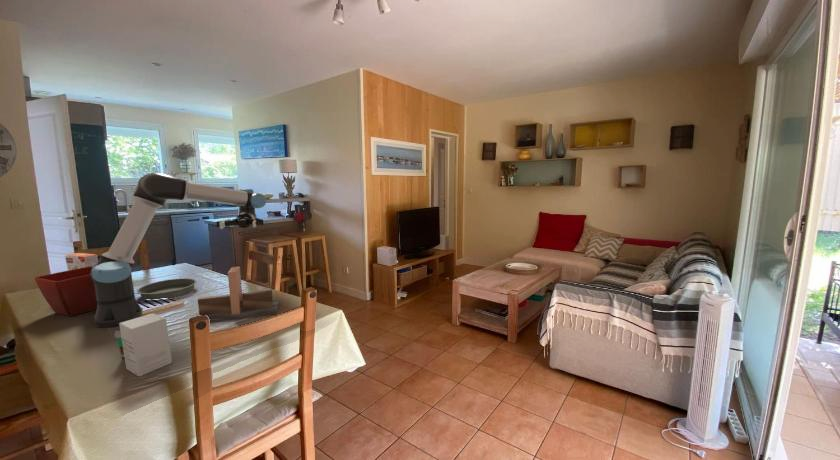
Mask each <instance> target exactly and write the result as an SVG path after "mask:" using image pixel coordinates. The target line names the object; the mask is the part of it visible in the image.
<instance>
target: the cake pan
mask: <svg viewBox="0 0 840 460" xmlns="http://www.w3.org/2000/svg"><path fill="white" fill-rule="evenodd" d="M197 281H198V280H196V279H194V278H188V277H187V278H184V277H183V278H182V277H181V278H173V279H172V278H170V279H164V280H159V281H155V282H152V283H148V284H145V285H143V286H141V287H138V288H137V289H136V293H137V294H140V296H141V298H142V299H145V300H144V301H147V300H146V299H160V298H172V299H176V298H177V299H178V298H180V297H184V296H187V295H189V294H191V293H192V292H194V290H195V285H196V284H197Z"/></svg>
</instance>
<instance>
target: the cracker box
mask: <svg viewBox="0 0 840 460" xmlns="http://www.w3.org/2000/svg"><path fill="white" fill-rule="evenodd" d="M64 257H65V262H66V263H65V264H66V267H67V271H68V270H73V269H79V268H84V267H94V266H95V265H96V264H97V262H98V261H99V255H98V254H95V253H83V252H75V253H70V254H69V253H68V254H66V255H65V256H64Z"/></svg>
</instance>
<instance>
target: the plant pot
mask: <svg viewBox="0 0 840 460" xmlns="http://www.w3.org/2000/svg"><path fill="white" fill-rule="evenodd" d="M92 268H93V267H84V268H79V269H73V270H68V269H67V270H63V271H58V272H54V273H53V272H52V273H50V274H45V275H40V276H35V277H34V280H35V283H36V285H37V288H38V289H39V291H40V293H41V294H42V296H43V298H44V299H45V301H46V302H47V304H48V305H49V306H50V308H51V309H52V310H53V311H54V313H55V314H59V315H62V316H67V317H73V316H76V315H80V314H83V313H87V312H90V311H91V312H92V311H93V310H96V309H97V300H96V294H95V288H94V284H93V281H92V280H91V275H90V273H91V270H92Z"/></svg>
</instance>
